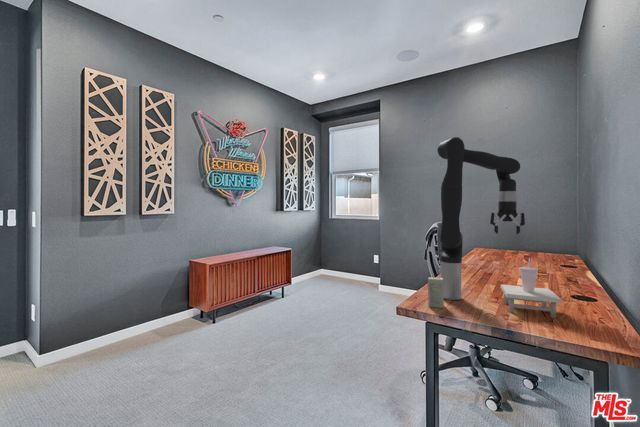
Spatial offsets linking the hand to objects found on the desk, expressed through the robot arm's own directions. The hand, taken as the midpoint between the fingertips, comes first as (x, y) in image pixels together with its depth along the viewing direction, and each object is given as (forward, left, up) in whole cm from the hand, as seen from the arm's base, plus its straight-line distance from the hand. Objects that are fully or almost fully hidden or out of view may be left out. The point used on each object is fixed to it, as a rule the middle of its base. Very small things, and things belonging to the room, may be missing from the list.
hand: (506, 233), depth 148 cm
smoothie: (+5, -22, -22) cm, 32 cm away
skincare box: (-31, -32, -30) cm, 54 cm away
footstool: (+5, -22, -30) cm, 38 cm away
